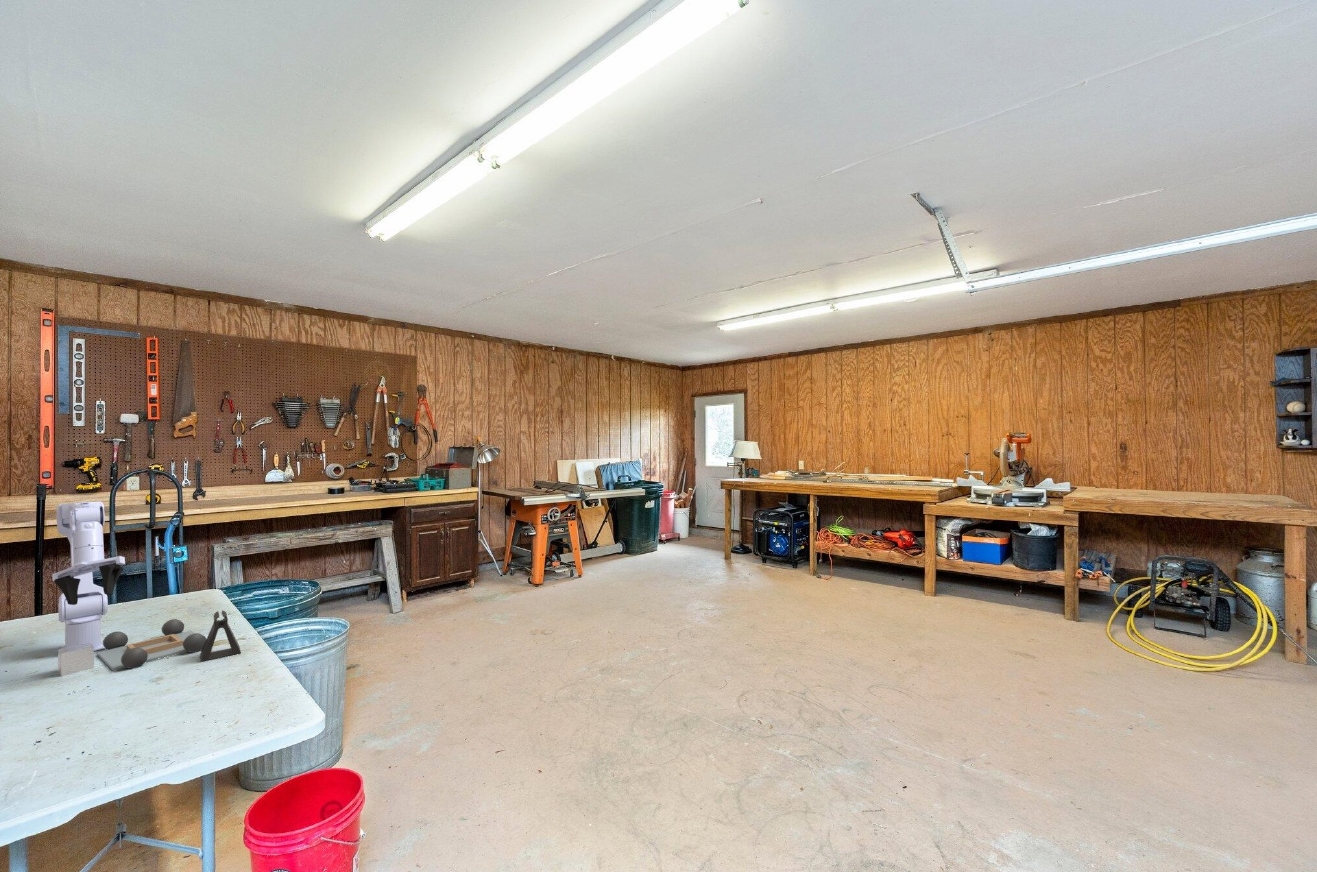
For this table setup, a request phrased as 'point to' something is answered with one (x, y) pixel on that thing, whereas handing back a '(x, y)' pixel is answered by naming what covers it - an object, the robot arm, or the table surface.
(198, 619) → the table surface
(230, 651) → the phone stand
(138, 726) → the table surface
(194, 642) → the chassis board
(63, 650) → the block
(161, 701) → the table surface
